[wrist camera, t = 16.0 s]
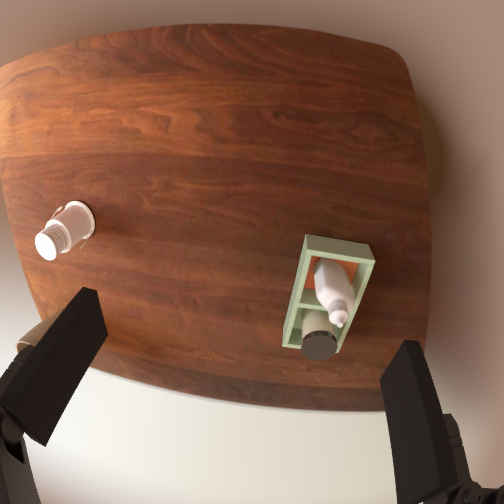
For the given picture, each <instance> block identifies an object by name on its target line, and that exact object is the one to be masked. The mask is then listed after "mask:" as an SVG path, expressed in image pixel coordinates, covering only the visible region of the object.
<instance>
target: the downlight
mask: <svg viewBox="0 0 504 504" xmlns="http://www.w3.org/2000/svg"><path fill="white" fill-rule="evenodd" d="M61 207H62V206H61ZM61 207H59V208H58V209H57V210H56V211H55V213H56V212H58V211H59V210H61ZM55 213H54V214H55ZM54 214H53V216H54ZM53 216H52V217H51V219H50V221H48V222H47V224H46V227H45V229H44V230H42V231H41V232H40V233H39V234H37V235H36V237H35V245H36V248H37V250H38V252H39V253H40V255H41V256H42V257H43V258H45V259H47V260H53V259H54V258H55V257H57V256H58V255H59V254H60V253H66V252H68V251H69V250H70V249H71V248H72V247H73V246H74V245H75V244H77V243H78V242H79V241H80V240H81V239H85V238H87V239H88V237H90V236H91V235H92V234H93V232H94V229H95V221H94V217H93V215H92V213H91V211H90V209H89V208H88V207H87V206H86V205H85V204H83V203H82V202H79V201H72V202H70V203H68V204H67V205H66V207H65V209H64V211H62V212H61V213H60V214H58V215H57V216H55V217H54V218H53ZM86 241H87V240H86ZM85 243H86V242H85ZM85 243H84V244H82V245H81V247H83V246H84V245H85ZM81 247H80V248H81Z"/></svg>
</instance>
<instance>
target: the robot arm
mask: <svg viewBox="0 0 504 504" xmlns="http://www.w3.org/2000/svg"><path fill="white" fill-rule="evenodd" d="M107 336H108V333H107V330H106V326H105V322H104V318H103V315H102V311H101V307H100V302H99V298H98V294H97V290H93V289H89V288H85V287H82V288H81V290H80V291H79V292H78V293H77V294H76V296H75V297H74V298H73V299H72V300H71V301H70V303H69V304H68V305H67V306H66V308H65V309H64V310H63V311H62V312H61V314H60V315H59V316H58V317H57V319H56V320H55V321H54V322H53V324H52V325H51V326H50V327H49V329H48V330H47V331H46V333H45V334H44V335H43V337H42V338H41V339H40V340H39V342H38V343H37V344H36V346H33V345H31V344H29V345H27V346H26V347H25V348H23V349H22V350H20V351H19V353H18V354H17V356H16V357H15V358H14V361H13V362H11V364H10V365H9V367H8V369H6V371H5V372H4V374H3V375H2V376H1V378H0V504H41V502H40V499H39V496H38V492H37V489H36V486H35V482H34V479H33V475H32V471H31V467H30V463H29V458H28V454H27V449H26V445H25V440H24V438H23V434H24V432H25V433H26V434H27V435H28V436H29V437H30V438H31V439H33V440H34V441H36V442H38V443H39V444H41V445H43V446H45V447H46V445H47V443H48V441H49V439H50V437H51V435H52V433H53V431H54V429H55V427H56V425H57V423H58V421H59V419H60V417H61V415H62V413H63V412H64V410H65V408H66V406H67V404H68V403H69V401H70V399H71V397H72V395H73V393H74V391H75V390H76V388H77V386H78V385H79V383H80V381H81V379H82V377H83V376H84V374H85V372H86V371H87V369H88V367H89V366H90V364H91V362H92V361H93V359H94V357H95V356H96V354H97V352H98V351H99V349H100V347H101V346H102V344H103V342H104V341H105V339H106V338H107ZM380 384H381V389H382V394H383V400H384V405H385V411H386V417H387V423H388V429H389V435H390V442H391V449H392V457H393V465H394V474H395V483H396V493H397V504H419V503H421V502H423V504H504V485H503V486H501V487H499V488H498V489H491V488H490V489H489V488H481V486H480V485H479V484H478V483H477V482H474V481H472V479H471V477H470V473H469V468H468V464H467V459H466V455H465V451H464V447H463V446H462V444H463V443H462V439H461V437H460V431H459V428H458V424H457V423H456V421H455V419H454V418H453V416H452V415H451V414H443V413H442V409H441V406H440V402H439V399H438V396H437V393H436V389H435V386H434V383H433V380H432V377H431V374H430V371H429V368H428V365H427V362H426V360H425V357H424V354H423V351H422V348H421V346H420V343H419V341H412V340H404V341H403V343H402V345H401V346H400V348H399V350H398V351H397V353H396V355H395V356H394V358H393V360H392V361H391V363H390V364H389V366H388V368H387V369H386V371H385V372H384V374H383V375H382V377H381V378H380Z"/></svg>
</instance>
